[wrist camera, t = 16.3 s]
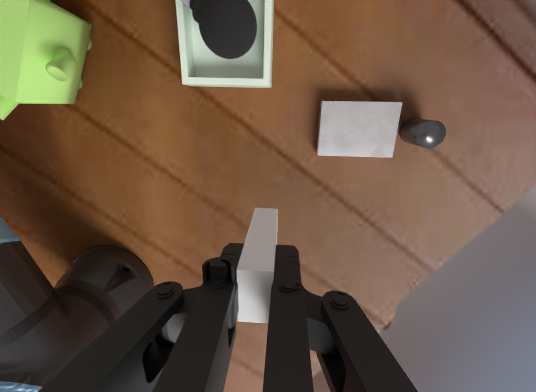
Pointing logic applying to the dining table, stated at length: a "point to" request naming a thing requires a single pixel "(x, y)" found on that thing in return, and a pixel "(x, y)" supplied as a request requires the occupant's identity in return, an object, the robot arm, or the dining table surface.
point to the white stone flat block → (357, 128)
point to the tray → (220, 69)
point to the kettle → (40, 53)
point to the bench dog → (423, 132)
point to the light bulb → (225, 25)
